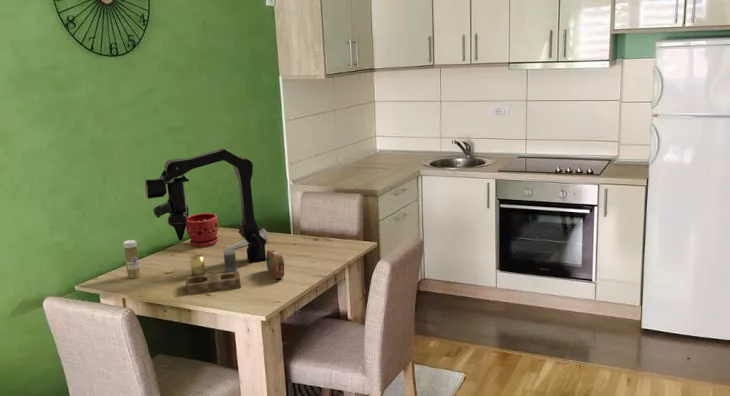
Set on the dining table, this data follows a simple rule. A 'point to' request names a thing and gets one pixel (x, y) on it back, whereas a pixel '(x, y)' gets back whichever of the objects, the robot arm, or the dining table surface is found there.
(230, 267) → the square bit
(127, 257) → the sprinkles bottle
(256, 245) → the robot arm
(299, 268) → the dining table surface
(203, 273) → the round bit
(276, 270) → the tin
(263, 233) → the caliper
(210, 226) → the plant pot
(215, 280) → the bore block
